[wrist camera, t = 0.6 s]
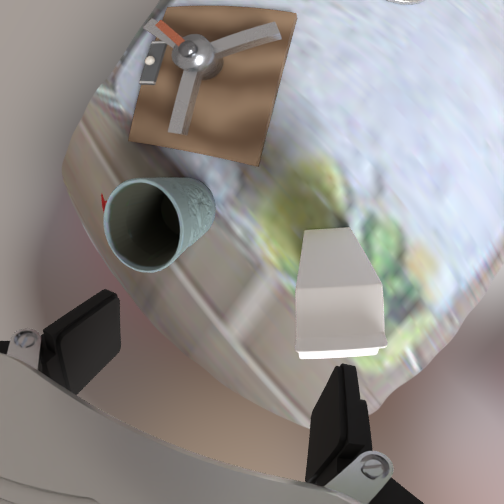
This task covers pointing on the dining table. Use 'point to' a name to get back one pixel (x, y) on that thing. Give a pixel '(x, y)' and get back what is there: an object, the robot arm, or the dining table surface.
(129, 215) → the grey-green cup
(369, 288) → the milk
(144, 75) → the level window
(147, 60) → the level ball
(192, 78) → the capstan
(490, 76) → the dining table surface
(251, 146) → the board
